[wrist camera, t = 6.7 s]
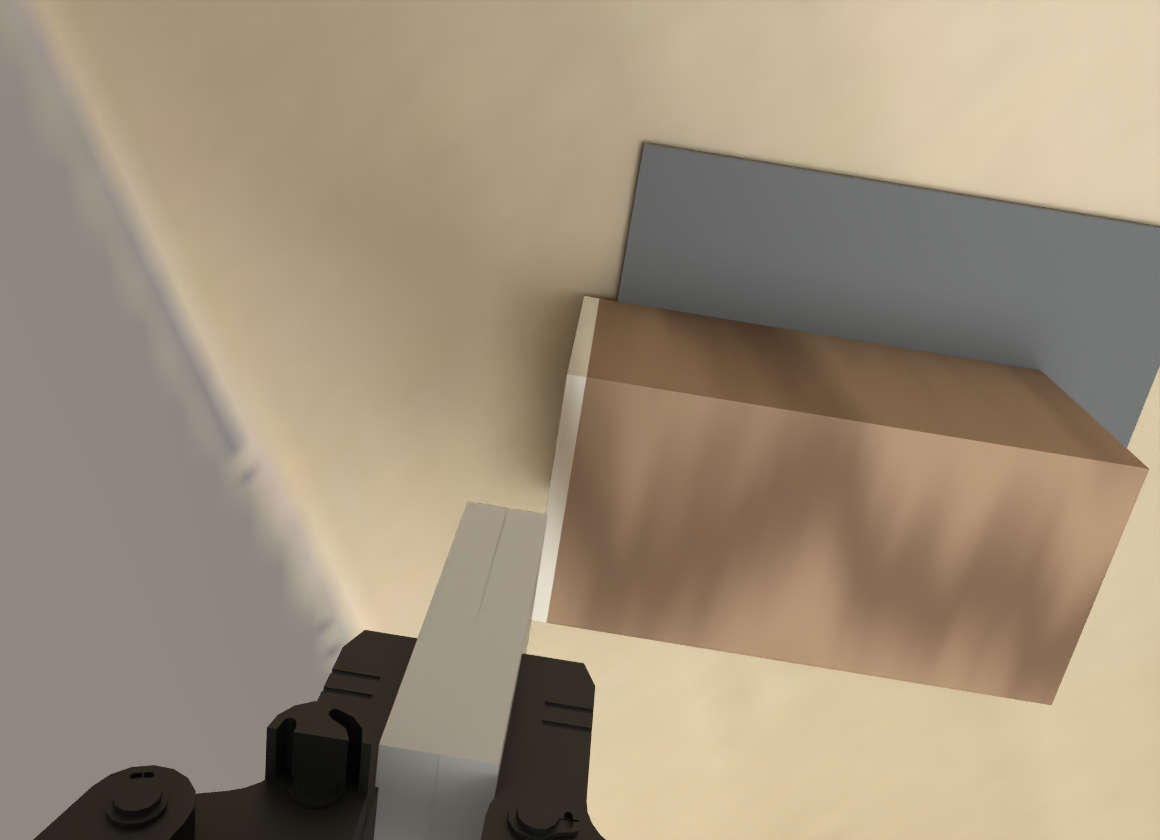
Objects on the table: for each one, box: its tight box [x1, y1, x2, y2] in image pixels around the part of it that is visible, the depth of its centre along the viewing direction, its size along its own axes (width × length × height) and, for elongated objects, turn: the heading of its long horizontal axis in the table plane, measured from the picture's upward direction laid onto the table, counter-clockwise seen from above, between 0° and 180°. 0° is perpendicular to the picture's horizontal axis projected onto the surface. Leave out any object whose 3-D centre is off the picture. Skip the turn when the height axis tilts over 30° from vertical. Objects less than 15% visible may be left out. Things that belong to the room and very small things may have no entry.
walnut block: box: [532, 296, 1149, 705], centre depth 24 cm, size 6×6×12 cm
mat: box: [617, 142, 1160, 448], centre depth 27 cm, size 14×14×1 cm
